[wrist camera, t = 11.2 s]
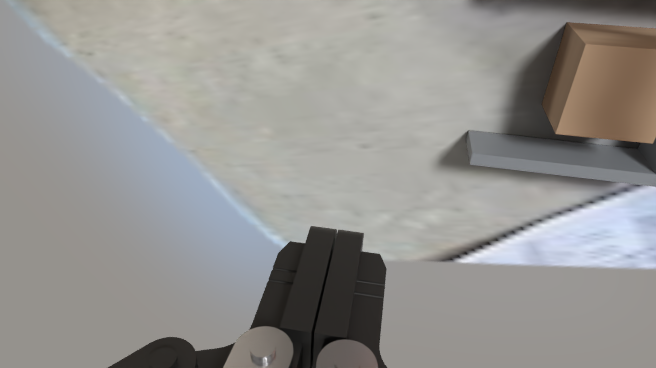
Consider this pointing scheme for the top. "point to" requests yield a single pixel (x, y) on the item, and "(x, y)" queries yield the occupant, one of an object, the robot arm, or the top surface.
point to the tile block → (604, 83)
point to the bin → (564, 157)
